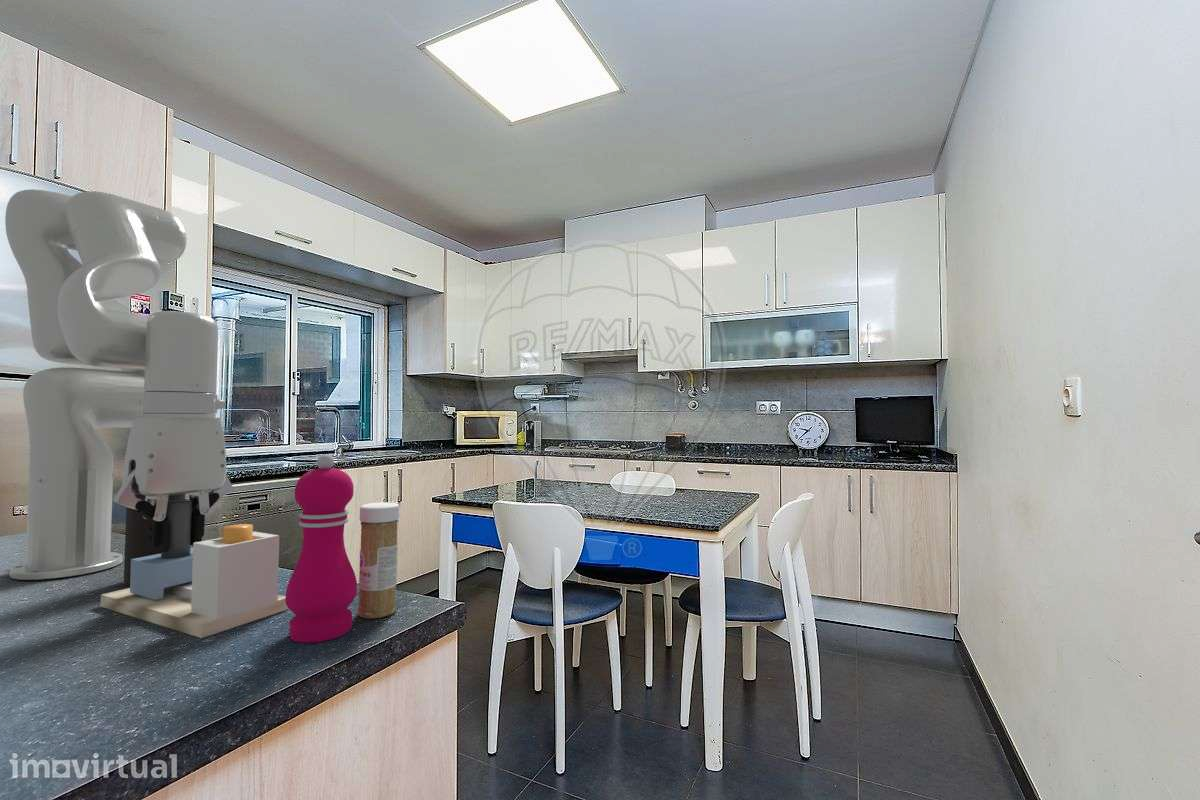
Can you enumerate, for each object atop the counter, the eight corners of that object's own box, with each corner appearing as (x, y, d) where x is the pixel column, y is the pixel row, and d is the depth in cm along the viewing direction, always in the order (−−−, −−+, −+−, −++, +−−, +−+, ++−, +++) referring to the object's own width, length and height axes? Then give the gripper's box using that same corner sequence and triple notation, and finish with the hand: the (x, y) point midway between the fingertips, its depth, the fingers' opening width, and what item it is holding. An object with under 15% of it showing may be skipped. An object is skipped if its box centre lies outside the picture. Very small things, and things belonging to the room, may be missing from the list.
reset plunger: (216, 561, 64) (217, 527, 64) (242, 555, 67) (243, 523, 67) (231, 564, 63) (232, 530, 63) (257, 558, 65) (258, 525, 65)
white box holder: (191, 612, 62) (193, 542, 63) (252, 594, 69) (254, 531, 69) (216, 619, 60) (218, 547, 60) (277, 600, 66) (279, 535, 67)
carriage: (129, 592, 68) (133, 503, 68) (191, 578, 74) (194, 496, 75) (155, 599, 66) (158, 507, 66) (217, 584, 72) (219, 499, 72)
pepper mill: (327, 648, 56) (331, 457, 57) (268, 641, 58) (273, 455, 59) (369, 622, 64) (373, 453, 64) (316, 617, 65) (320, 451, 66)
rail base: (100, 606, 68) (101, 584, 68) (188, 584, 77) (189, 565, 77) (201, 638, 59) (202, 613, 59) (288, 609, 68) (289, 587, 68)
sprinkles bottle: (350, 613, 66) (353, 504, 67) (385, 604, 70) (387, 500, 70) (368, 623, 63) (371, 508, 64) (404, 612, 67) (406, 503, 67)
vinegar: (112, 583, 77) (117, 444, 78) (164, 571, 84) (169, 442, 84) (141, 589, 75) (147, 445, 76) (193, 576, 81) (197, 443, 82)
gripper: (229, 408, 80) (225, 533, 79) (86, 405, 65) (80, 559, 64) (261, 408, 77) (257, 538, 76) (118, 405, 62) (112, 567, 61)
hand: (176, 546), depth 70 cm, fingers closed on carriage, 3 cm apart
